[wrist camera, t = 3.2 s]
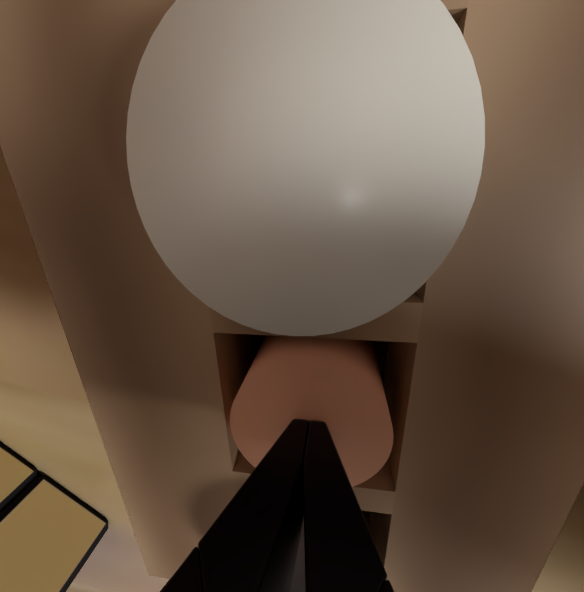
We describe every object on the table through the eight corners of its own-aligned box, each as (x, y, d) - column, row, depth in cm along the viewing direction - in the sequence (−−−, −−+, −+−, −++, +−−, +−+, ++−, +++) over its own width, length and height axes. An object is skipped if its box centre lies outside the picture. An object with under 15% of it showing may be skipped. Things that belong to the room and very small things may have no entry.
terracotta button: (381, 310, 9) (402, 370, 6) (371, 412, 11) (385, 500, 8) (257, 306, 10) (221, 359, 7) (264, 402, 11) (237, 481, 8)
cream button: (422, 62, 5) (534, -106, 2) (399, 274, 7) (448, 344, 4) (213, 80, 6) (85, -31, 3) (233, 272, 7) (161, 329, 4)
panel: (639, 4, 6) (886, -147, 3) (469, 545, 13) (506, 643, 10) (80, 64, 8) (-51, 0, 5) (184, 503, 15) (149, 574, 12)
